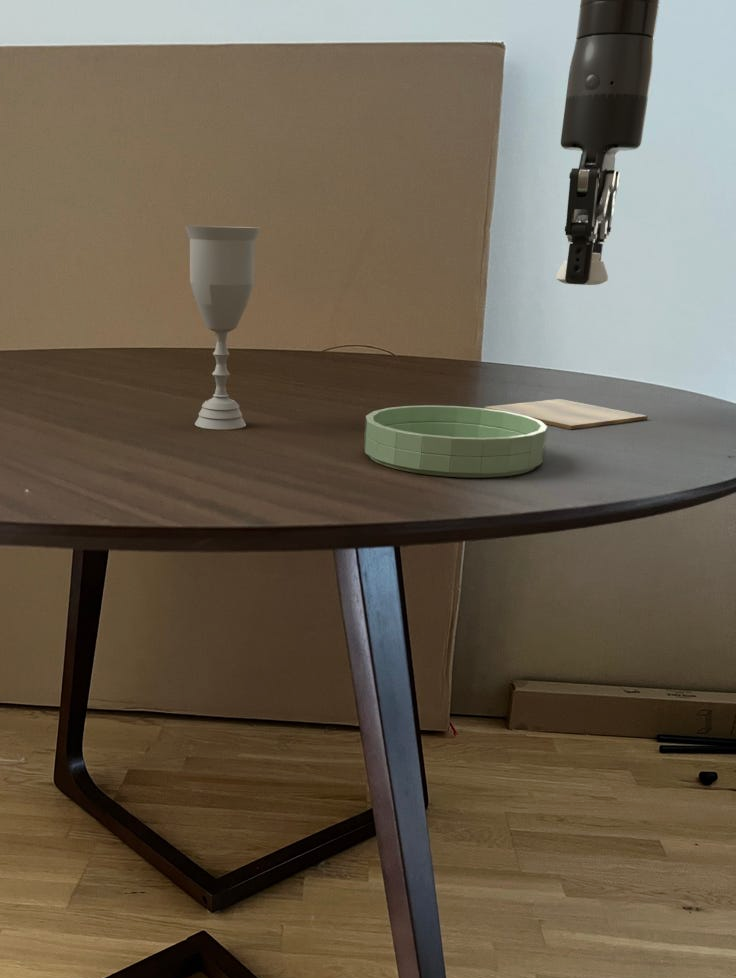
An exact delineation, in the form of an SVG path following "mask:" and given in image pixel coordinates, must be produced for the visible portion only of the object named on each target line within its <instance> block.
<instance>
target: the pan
mask: <svg viewBox="0 0 736 978" xmlns="http://www.w3.org/2000/svg"><path fill="white" fill-rule="evenodd" d="M548 429H549V427H548V426H547V424H544V423H543V422H542V421H540V420H537V419H534V418H531V417H529V416H525V415H520V414H516V413H511V412H506V411H499V410H491V409H485V408H483V407H471V406H458V405H431V404H429V405H403V406H396V407H395V406H394V407H386V408H382V409H377V410H374V411H371V412H370V413H368V414H367V415H365V417H364V433H363V434H364V436H363V450H364V453H365V454H366V455H367V456H368V457H369V459H371V460H372V461H373V462H375V463H377V464H379V465H382V466H385V467H387V468H391V469H394V470H399V471H404V472H409V473H413V474H420V475H421V474H422V475H429V476H436V477H446V478H447V477H448V478H471V479H475V478H478V479H479V478H481V479H482V478H485V479H486V478H500V477H501V478H502V477H509V476H515V475H516V476H517V475H522V474H525V473H529V472H531V471H533V470H534V469H536V468H537V467H538V466H541V464H542V462H543V460H544V458H545V451H546V442H547V436H548Z"/></svg>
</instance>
